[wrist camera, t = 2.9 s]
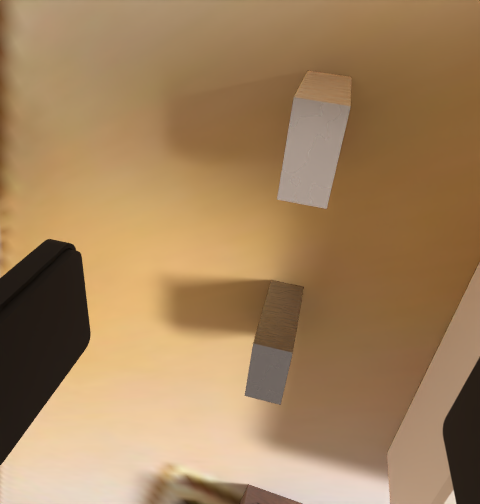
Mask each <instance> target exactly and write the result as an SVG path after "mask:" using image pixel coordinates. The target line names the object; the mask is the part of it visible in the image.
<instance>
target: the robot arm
mask: <svg viewBox="0 0 480 504" xmlns="http://www.w3.org/2000/svg"><path fill="white" fill-rule="evenodd" d="M89 340H90V325H89V316H88V308H87V299H86V290H85V282H84V273H83V265H82V257H81V254H80V252H78V251H76V248H75V246H74V245H73V244H70V243H66V242H61V241H56V240H52V239H48V240H46V241H44V242H43V243H42V244H41V245H39V246H38V247H37V248H36V249H35V250H33V251H32V252H31V253H30V254H29V255H27V256H26V257H25V258H24V259H23V260H22V261H20V262H19V263H18V264H17V265H16V266H14V267H13V268H12V269H11V270H10V271H8V272H7V273H6V274H5V275H4V276H2V277H1V278H0V465H1V464H2V463H3V462H4V460H5V459H6V458H7V456H8V455H9V453H10V452H11V451H12V449H13V448H14V447H15V445H16V444H17V442H18V441H19V440H20V438H21V437H22V436H23V434H24V433H25V431H26V430H27V429H28V427H29V426H30V425H31V423H32V422H33V421H34V419H35V418H36V416H37V415H38V414H39V412H40V411H41V410H42V408H43V407H44V405H45V404H46V403H47V401H48V400H49V399H50V397H51V396H52V394H53V393H54V392H55V390H56V389H57V388H58V386H59V385H60V383H61V382H62V381H63V379H64V378H65V377H66V375H67V374H68V372H69V371H70V370H71V368H72V367H73V366H74V364H75V363H76V361H77V360H78V359H79V357H80V356H81V355H82V353H83V352H84V350H85V349H86V347H87V346H88V343H89ZM443 439H444V444H445V449H446V454H447V459H448V464H449V469H450V474H451V479H452V485H453V490H454V495H455V500H456V504H480V357H479V359H478V361H477V363H476V364H475V366H474V368H473V370H472V371H471V373H470V375H469V377H468V379H467V380H466V382H465V384H464V386H463V387H462V389H461V391H460V393H459V395H458V396H457V398H456V400H455V402H454V403H453V405H452V407H451V409H450V411H449V412H448V414H447V416H446V418H445V420H444V423H443Z"/></svg>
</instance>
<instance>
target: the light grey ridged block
mask: <svg viewBox="0 0 480 504" xmlns="http://www.w3.org/2000/svg"><path fill="white" fill-rule="evenodd" d="M351 82H352V77H349V76H342V75H336V74H329V73H322V72H316V71H309V70H308V71H307V73H306V75H305V77H304V79H303V80H302V82H301V84H300V86H299V88H298V90H297V92H296V94H295V96H294V98H293V104H292V111H291V117H290V123H289V129H288V135H287V141H286V147H285V153H284V160H283V166H282V172H281V178H280V184H279V190H278V196H277V200H282V201H288V202H293V203H298V204H303V205H309V206H314V207H319V208H325V209H327V205H328V201H329V197H330V193H331V188H332V184H333V180H334V176H335V171H336V167H337V163H338V159H339V154H340V150H341V146H342V141H343V137H344V133H345V129H346V124H347V120H348V116H349V112H350V107H351Z"/></svg>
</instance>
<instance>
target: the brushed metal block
mask: <svg viewBox="0 0 480 504" xmlns="http://www.w3.org/2000/svg"><path fill="white" fill-rule="evenodd" d="M303 289H304V287H302V286H297V285H292V284H288V283H283V282H279V281H274V280H271V282H270V286H269V289H268V293H267V297H266V300H265V304H264V307H263V311H262V314H261V318H260V321H259V325H258V328H257V332H256V336H255V339H254V343H253V348H252V354H251V361H250V367H249V373H248V379H247V385H246V391H245V396H248V397H252V398H256V399H260V400H264V401H268V402H271V403H275V404H279V405H281V400H282V396H283V392H284V388H285V383H286V379H287V375H288V371H289V366H290V362H291V358H292V354H293V348H294V342H295V336H296V330H297V324H298V318H299V313H300V307H301V301H302V295H303Z"/></svg>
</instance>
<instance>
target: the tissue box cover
mask: <svg viewBox="0 0 480 504" xmlns="http://www.w3.org/2000/svg"><path fill="white" fill-rule="evenodd" d="M240 504H302V503H299V502H296V501H294V500H291V499H288V498H285V497H282V496H280V495H277V494H274V493H271V492H268V491H266V490H263V489H260V488H257V487H254V486H252V485H249V484H248V487H247V489H246V491H245V493H244V495H243V497H242V499H241V502H240Z"/></svg>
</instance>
